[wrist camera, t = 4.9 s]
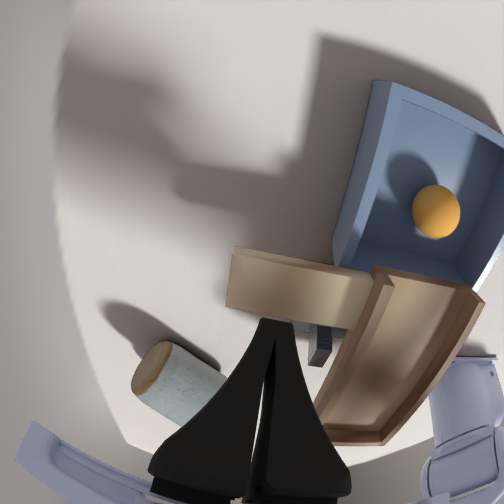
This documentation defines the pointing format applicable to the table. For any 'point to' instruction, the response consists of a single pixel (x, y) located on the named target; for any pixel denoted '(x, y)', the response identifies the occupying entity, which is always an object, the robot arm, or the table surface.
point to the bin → (416, 178)
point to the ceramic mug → (175, 382)
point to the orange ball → (436, 211)
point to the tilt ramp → (363, 334)
